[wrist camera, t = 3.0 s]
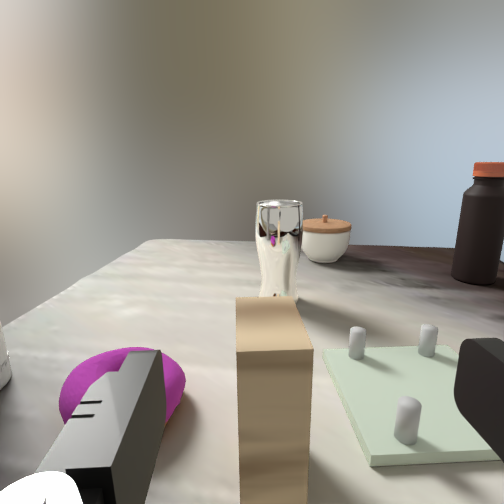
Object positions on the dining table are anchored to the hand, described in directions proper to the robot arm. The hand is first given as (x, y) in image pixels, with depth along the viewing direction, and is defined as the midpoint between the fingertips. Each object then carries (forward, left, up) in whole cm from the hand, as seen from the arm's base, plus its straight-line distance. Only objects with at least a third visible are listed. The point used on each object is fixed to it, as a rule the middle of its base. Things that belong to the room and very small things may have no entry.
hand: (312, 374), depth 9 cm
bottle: (+59, +22, -16) cm, 65 cm away
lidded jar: (+46, +46, -16) cm, 67 cm away
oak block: (+6, +10, -16) cm, 20 cm away
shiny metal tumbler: (+25, +34, -16) cm, 45 cm away
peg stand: (+22, +9, -16) cm, 28 cm away
